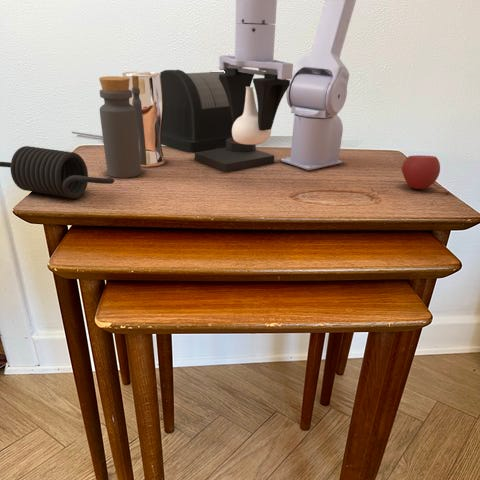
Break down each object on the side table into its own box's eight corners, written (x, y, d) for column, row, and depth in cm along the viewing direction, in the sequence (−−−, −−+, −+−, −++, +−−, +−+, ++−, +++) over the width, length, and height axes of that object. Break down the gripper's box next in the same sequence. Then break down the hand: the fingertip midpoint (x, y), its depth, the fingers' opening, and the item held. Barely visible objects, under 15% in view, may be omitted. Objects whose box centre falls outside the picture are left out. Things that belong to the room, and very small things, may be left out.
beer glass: (141, 169, 83) (133, 76, 75) (123, 161, 88) (113, 72, 79) (173, 164, 87) (169, 74, 79) (154, 156, 91) (149, 70, 83)
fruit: (395, 193, 78) (446, 196, 74) (400, 157, 75) (453, 159, 72) (401, 188, 82) (449, 191, 79) (406, 154, 80) (455, 156, 77)
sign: (79, 128, 107) (133, 136, 102) (80, 132, 107) (134, 140, 102) (63, 132, 103) (119, 140, 98) (64, 136, 103) (120, 145, 98)
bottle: (108, 178, 78) (95, 79, 70) (106, 169, 83) (95, 75, 74) (142, 177, 79) (134, 80, 71) (139, 168, 84) (131, 75, 76)
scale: (242, 150, 97) (243, 135, 96) (276, 162, 91) (278, 146, 89) (192, 159, 91) (192, 143, 89) (225, 172, 84) (225, 155, 82)
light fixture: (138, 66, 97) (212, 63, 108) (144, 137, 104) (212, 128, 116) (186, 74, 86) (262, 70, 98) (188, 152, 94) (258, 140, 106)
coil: (127, 189, 71) (95, 236, 70) (32, 134, 75) (1, 178, 75) (106, 165, 64) (71, 217, 63) (3, 107, 68) (-31, 155, 68)
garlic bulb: (278, 143, 74) (282, 87, 69) (248, 148, 71) (250, 90, 66) (253, 135, 78) (255, 83, 73) (223, 140, 75) (224, 85, 70)
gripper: (202, 21, 68) (204, 120, 75) (268, 25, 59) (262, 137, 66) (239, 22, 72) (237, 116, 79) (307, 26, 62) (297, 131, 70)
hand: (251, 125), depth 73 cm, fingers closed on garlic bulb, 6 cm apart
